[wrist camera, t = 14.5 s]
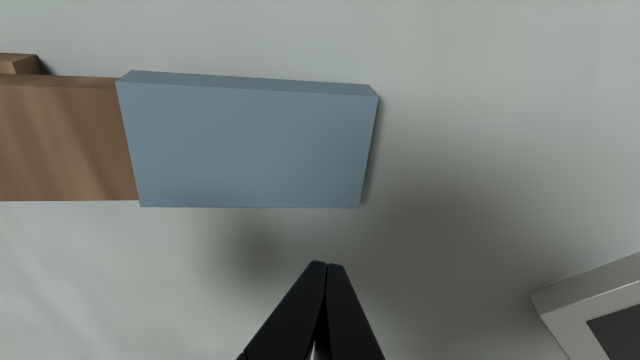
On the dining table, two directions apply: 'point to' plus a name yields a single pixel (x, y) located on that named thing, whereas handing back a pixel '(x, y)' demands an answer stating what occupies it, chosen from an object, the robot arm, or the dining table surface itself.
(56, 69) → the dining table surface
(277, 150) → the domino
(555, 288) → the picture frame
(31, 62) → the domino
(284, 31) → the dining table surface
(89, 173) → the domino
